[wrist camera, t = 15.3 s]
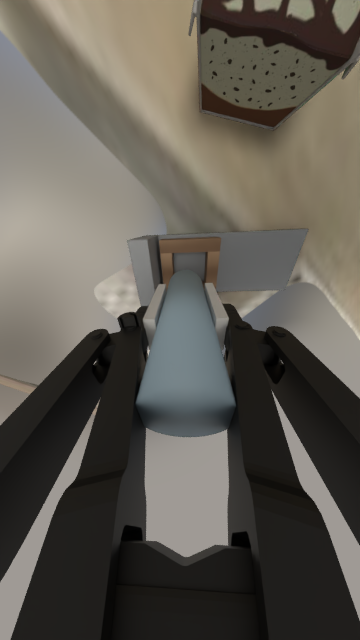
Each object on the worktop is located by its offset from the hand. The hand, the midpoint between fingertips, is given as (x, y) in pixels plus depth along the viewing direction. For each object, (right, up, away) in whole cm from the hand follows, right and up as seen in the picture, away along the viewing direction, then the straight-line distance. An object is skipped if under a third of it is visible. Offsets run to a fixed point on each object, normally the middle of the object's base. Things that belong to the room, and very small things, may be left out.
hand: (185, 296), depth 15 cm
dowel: (0, +1, +2) cm, 3 cm away
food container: (+7, +24, +1) cm, 25 cm away
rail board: (+7, +8, +11) cm, 15 cm away
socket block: (+1, +7, +11) cm, 13 cm away
